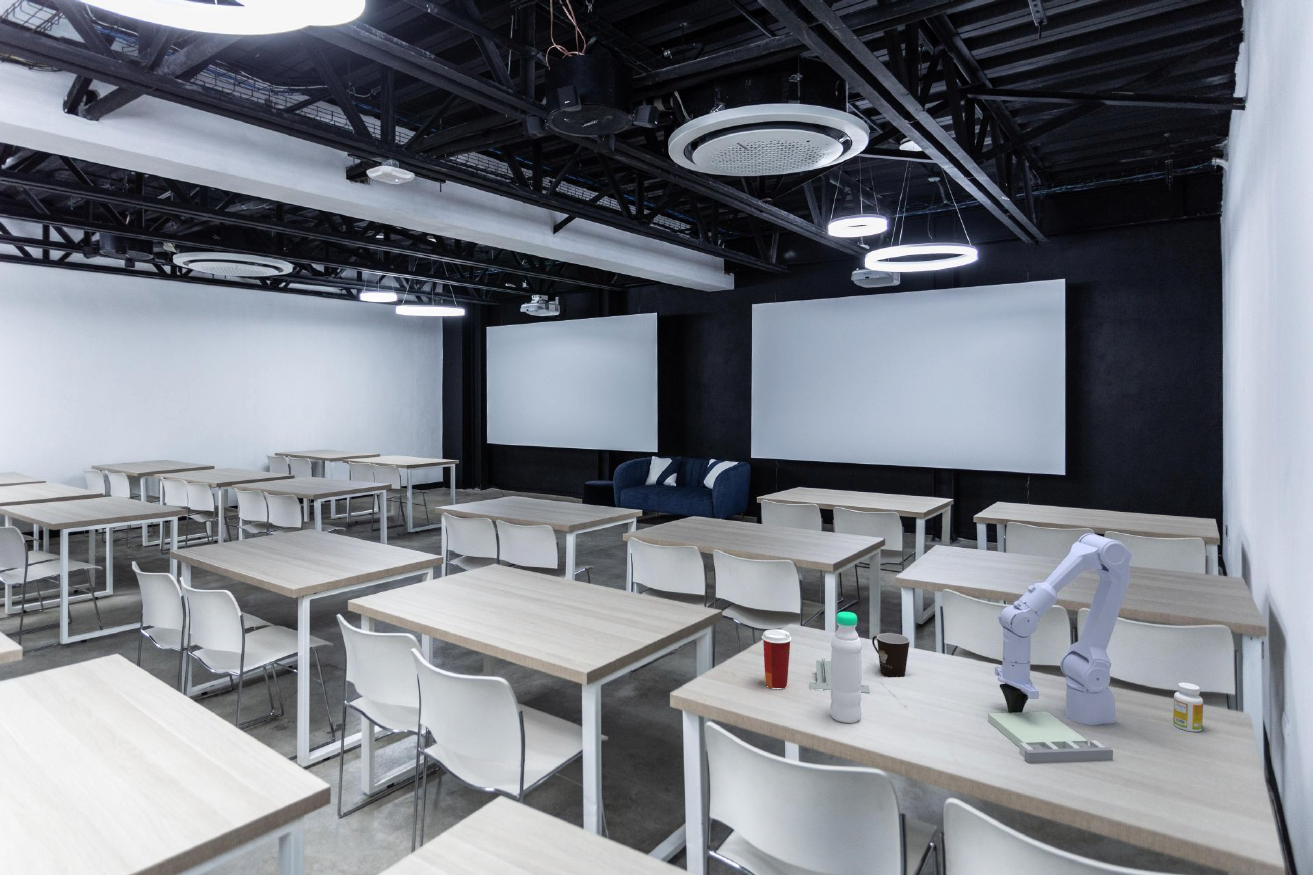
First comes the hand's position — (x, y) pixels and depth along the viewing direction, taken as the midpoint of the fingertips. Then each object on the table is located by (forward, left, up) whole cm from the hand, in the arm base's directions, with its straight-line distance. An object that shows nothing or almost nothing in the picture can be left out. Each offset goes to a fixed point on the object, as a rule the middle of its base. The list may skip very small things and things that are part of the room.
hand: (1015, 716), depth 163 cm
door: (0, +10, 0) cm, 10 cm away
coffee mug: (+16, -33, -2) cm, 37 cm away
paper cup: (+50, -26, -2) cm, 56 cm away
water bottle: (+38, -6, -2) cm, 39 cm away
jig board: (0, +7, -2) cm, 7 cm away
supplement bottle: (-39, +4, -2) cm, 39 cm away
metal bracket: (+33, -27, -2) cm, 43 cm away
